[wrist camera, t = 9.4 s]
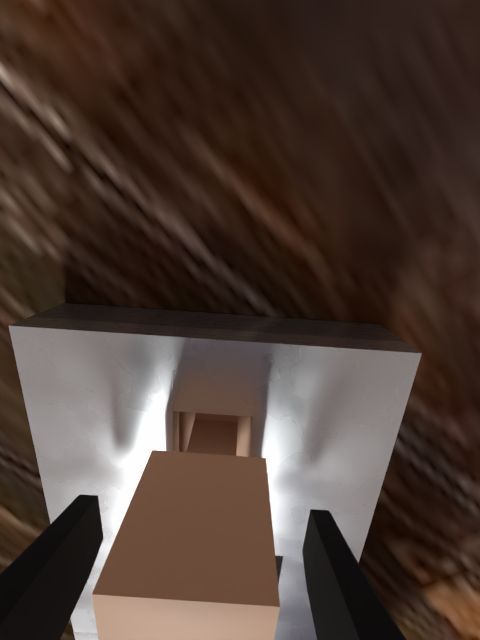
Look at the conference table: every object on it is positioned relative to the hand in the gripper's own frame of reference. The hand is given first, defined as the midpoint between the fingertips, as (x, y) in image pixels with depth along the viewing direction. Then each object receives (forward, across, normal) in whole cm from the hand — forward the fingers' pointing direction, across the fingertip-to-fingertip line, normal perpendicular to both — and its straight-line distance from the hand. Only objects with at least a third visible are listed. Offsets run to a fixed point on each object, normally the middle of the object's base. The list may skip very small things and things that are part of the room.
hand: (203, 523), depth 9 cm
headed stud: (+5, 0, 0) cm, 5 cm away
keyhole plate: (+5, 0, +4) cm, 6 cm away
